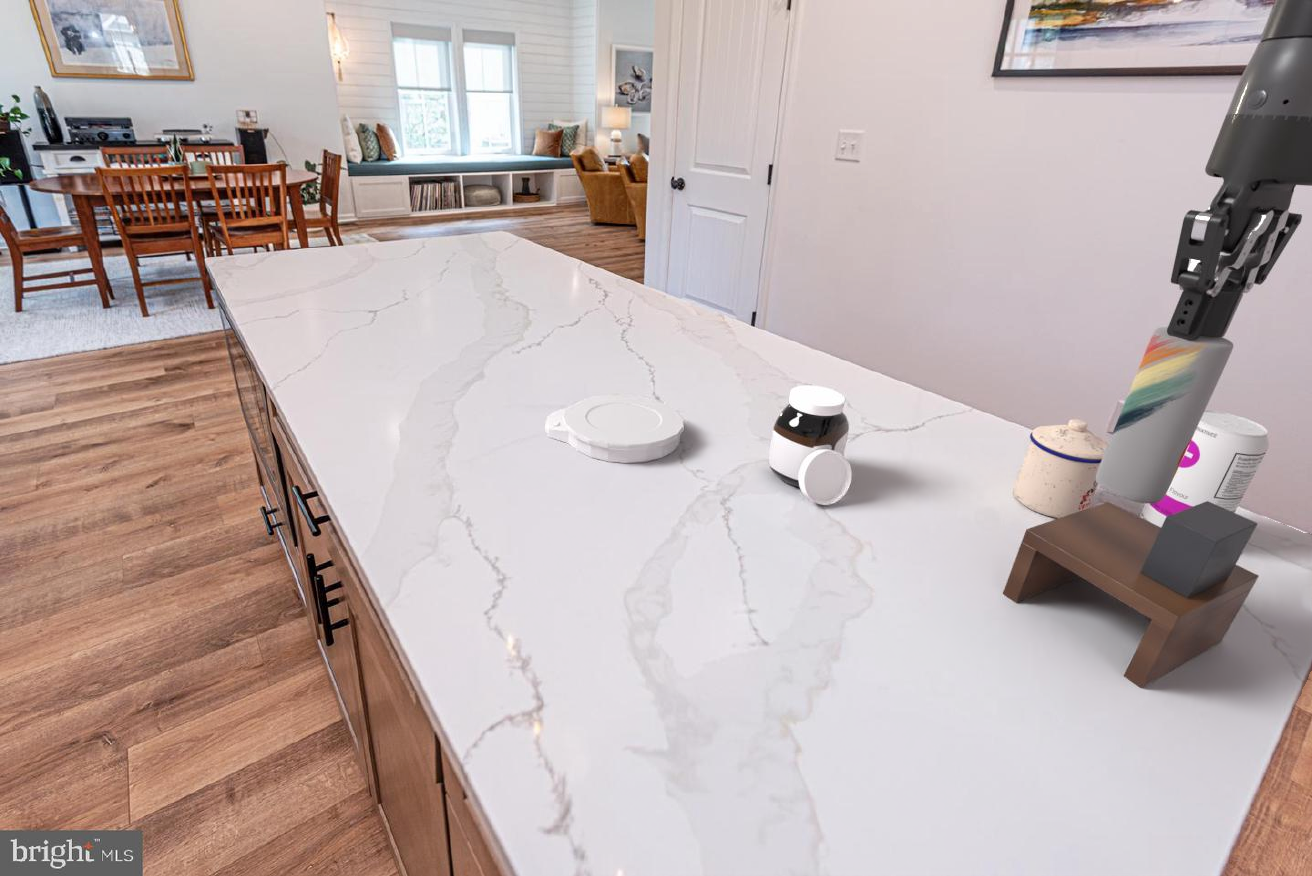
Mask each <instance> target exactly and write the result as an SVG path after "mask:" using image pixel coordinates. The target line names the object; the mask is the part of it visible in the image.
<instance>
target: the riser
mask: <svg viewBox="0 0 1312 876" xmlns="http://www.w3.org/2000/svg"><path fill="white" fill-rule="evenodd" d="M1160 529H1161V527H1159V526H1157V525H1155V524H1153V523H1151V522H1149V521H1147V520H1144V519H1142V518H1141V517H1140V516H1138V515H1136V514H1134V513H1132V512H1130V511H1128V510H1127V509H1124V508H1122V507H1121V506H1118V505H1116V504H1114V503H1112V502H1110V501H1105V502H1102V503H1100V504H1097V505H1094V506H1091V507H1088V509H1085V510H1082V511H1079V512H1076V513H1073V514H1070V515H1067V516H1064V517H1061V518H1055V519H1053V520H1049V521H1046V522H1044V523H1041V524H1038V525H1035V526H1032V527H1029V528H1026V530H1025V531H1024V535H1023V537H1022V540H1021V542H1020V545H1019V546H1020V547H1019V548H1018V551H1017V554H1016V557H1015V559H1014V561H1013V563H1012V564H1013V565H1012V567H1011V570H1010V573H1009V575H1008V579H1007V580H1006V583H1005V587H1004V589H1003V591H1002V595H1004V597H1005V596H1006V597H1007V598H1008V599H1010V600H1011V601H1012V602H1014V603H1019V602H1021V601H1024V600H1026V599H1029V598H1031V597H1034V596H1036V595H1039V594H1041V593H1044V592H1046V591H1049V590H1050V589H1053V588H1055V587H1056V588H1057V587H1058V586H1061V585H1063V584H1066V583H1067V582H1070V581H1072V580H1075V579H1077V578H1082V579H1083V580H1085V581H1087V582H1089V583H1090V584H1091V585H1094V586H1095V587H1096V588H1099V589H1100V590H1101V591H1104V592H1105V593H1107V594H1109V595H1110V596H1112V597H1114V598H1115V599H1117V600H1118V601H1119V602H1122V603H1123V604H1125V605H1126V606H1129V607H1130V608H1132V609H1133V610H1135V611H1137V612H1138V613H1140V614H1142V615H1143V616H1144V617H1145V616H1146V618H1149V619H1150V621H1149V624H1148V626H1147V628H1146V630H1145V632H1144V634H1143V636H1142V638H1141V640H1140V642H1139V644H1138V646H1137V648H1136V650H1135V652H1134V654H1133V656H1132V657H1131V660H1130V662H1129V664H1128V666H1127V668H1126V670H1125V672H1124V674H1123V677H1124V678H1126V679H1127V680H1129V681H1130V682H1131V683H1133V684H1134V685H1136V686H1138V687H1139V688H1141V689H1142V688H1145V687H1146V686H1148V685H1149V684H1151V683H1153V682H1155V681H1156V680H1159V679H1160V678H1161V677H1163V676H1165V675H1167V674H1168V673H1170V672H1172V671H1173V670H1175V669H1177V668H1179V667H1180V666H1182V665H1184V664H1186V663H1188V662H1189V661H1191V660H1193V659H1195V658H1196V657H1198V656H1200V655H1202V654H1204V653H1205V652H1207V651H1209V650H1210V649H1212V648H1214V647H1215V646H1218V645H1219V644H1220V643H1222V642H1223V640H1224V638H1225V637H1226V635H1227V633H1228V631H1229V629H1231V626H1232V624H1233V622H1234V621H1235V619H1236V618H1237V615H1238V613H1239V612H1240V610H1241V609H1242V606H1244V603H1245V601H1246V599H1247V598H1248V596H1249V594H1250V593H1251V591H1252V589H1253V588H1254V586H1255V584H1256V582H1257V580H1258V578H1259V576H1260V575H1258V574H1256V573H1254V572H1252V571H1250V570H1248V569H1246V568H1244V567H1242V566H1240V565H1238V564H1236V565H1235V567H1234V568H1233V570H1232V572H1231V574H1230V576H1229V578H1228V579H1226V580H1224V581H1222V582H1220V583H1218V584H1216V585H1214V586H1212V587H1210V588H1208V589H1206V590H1204V591H1202V592H1200V593H1198V594H1196V595H1194V596H1192V597H1190V598H1186V597H1184V596H1182V595H1180V594H1178V593H1177V592H1175V591H1173V590H1171V589H1169V588H1168V587H1166V586H1164V585H1162V584H1160V583H1158V582H1157V581H1155V580H1153V579H1151V578H1149V577H1148V576H1146V575H1144V574H1142V573H1141V570H1142V568H1143V565H1144V563H1145V561H1146V559H1147V557H1148V555H1149V553H1150V551H1151V548H1152V546H1153V544H1154V542H1155V540H1156V538H1157V536H1158V534H1159V531H1160Z"/></svg>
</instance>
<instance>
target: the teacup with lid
mask: <svg viewBox="0 0 1312 876" xmlns="http://www.w3.org/2000/svg"><path fill="white" fill-rule="evenodd" d="M1087 428H1088V424H1087V422H1086V421H1085V420H1082V419H1078V418H1077V419H1076V418H1072V419H1070V420H1068V422H1067V423H1063V424H1056V425H1055V424H1045V425H1040V426H1038V427H1035V428H1034V429H1033V430H1032V431H1031V432H1030V434H1029V438H1030V441H1029V444H1028V446H1027V449H1026V452H1025V455H1024V459H1023V461H1022V463H1021V466H1020V470H1019V473H1018V474H1017V475H1018V476H1017V479H1016V481H1015V484H1014V487H1013V495H1014V498H1016V500H1017V501H1018V502H1019V503H1020V504H1021V505H1023V506H1024V507H1026V508H1027V509H1029V510H1030V511H1034V512H1036V513H1038V514H1040V515H1043V516H1047V517H1050V518H1055V519H1058V518H1061V517H1064V516H1067V515H1070V514H1073V513H1076V512H1079V511H1082V510H1085V509H1088V508H1090V505H1091V502H1092V500H1093V498H1094V496H1095V492H1096V490H1097V488H1098V486H1099V485H1098V484H1097V482H1096V474H1097V471H1098V468H1099V466H1100V463H1101V461H1102V458H1103V455H1104V453H1105V450H1106V448H1107V446H1108V442H1107V441H1105V440H1104V439H1102V438H1101V437H1098V436H1097V435H1095V434H1094V433H1093V432H1091V430H1089V429H1087Z"/></svg>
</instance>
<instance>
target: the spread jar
mask: <svg viewBox="0 0 1312 876" xmlns="http://www.w3.org/2000/svg"><path fill="white" fill-rule="evenodd" d="M845 403H846V398H845V396H844V395H843V394H842V393H841V392H838V391H837V390H834V389H832V388H829V387H825V386H820V385H810V384H808V385H807V384H806V385H804V384H803V385H798V386H795V387H792V389H791V390H790V393H789V398H788V404H787V405H786V406H785V407H784V408H783V409H782V411H781V412H780V413H779V415H778V416H777V418H776V420H775V422H774V425H773V429H772V432H771V433H772V434H771V438H770V445H769V451H768V466H769V468H770V470H771V472H772V473H773V474H774V475H775V476H777V477H778V478H779V479H780V480H781V481H783V482H784V483H786V484H787V485H790V486H792V487H795V488H799V489H800V491H801V493H802V495H803V496H804V497H805V498H806V499H807V500H809V501H811V502H813V503H815V504H818V505H821V506H829V505H833V504H836V503H838V502H839V501H840V500H842V499H843V498H844V496H845V495H846V494H847V493H848V491H849V489H850V486H851V483H852V479H853V478H852V477H853V476H852V475H853V471H852V465H851V463H850V462H849V460H848V457H846V456H845V450H846V445H847V441H848V436H849V429H850V423H849V419H848V417H847V416H846V414H845V413H844V407H845Z"/></svg>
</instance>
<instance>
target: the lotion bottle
mask: <svg viewBox="0 0 1312 876" xmlns="http://www.w3.org/2000/svg"><path fill="white" fill-rule="evenodd" d="M1244 290H1245V286H1243V285H1239V284H1237V283H1236V282H1234V281H1231V280H1229V279H1226V281H1225V282H1224V284H1223V286H1222V288H1221V290H1220V292H1219V293H1218V294H1217V295H1216V296H1215V297H1216V300H1215V302H1214V305H1213V307H1212V309H1211V312H1210V314H1209V316H1208V319H1207V321H1206V323H1205V326H1204V328H1203V330H1202V332H1201V335H1200V337H1199V338H1198V339H1196V340H1192V341H1187V340H1185V339H1181V338H1178V337H1174V336H1169V335H1168V333H1167V328H1168V326H1160V327H1157V328H1155V329H1154V331H1153V332H1152V335H1151V337H1150V339H1149V342H1148V344H1147V347H1146V349H1145V351H1144V354H1143V356H1142V359H1141V361H1140V364H1139V366H1138V369H1137V372H1136V374H1135V375H1134V378H1133V381H1132V384H1131V386H1130V387H1129V388H1130V389H1129V392H1128V394H1127V396H1126V398H1125V400H1124V404H1123V406H1122V408H1121V410H1120V411H1121V412H1120V414H1119V415H1118V419H1117V421H1116V423H1115V426H1114V428H1113V431H1112V433H1111V436H1110V438H1109V441H1108V442H1107V444H1108V446H1107V448H1106V450H1105V453H1104V455H1103V458H1102V461H1101V463H1100V466H1099V468H1098V471H1097V474H1096V482H1097V484H1098V485H1097V486H1099V487H1100V488H1101V489H1103V490H1104V491H1106V492H1107V493H1110V494H1111V495H1113V496H1116V497H1118V498H1121V499H1124V500H1127V501H1131V502H1134V503H1140V504H1145V503H1157V502H1160V501H1161V500H1162V499H1163V498H1164V496H1165V495H1166V493H1167V491H1168V489H1169V487H1170V485H1171V483H1172V480H1173V478H1174V476H1175V474H1176V472H1177V470H1178V467H1179V465H1180V463H1181V461H1182V459H1183V457H1184V454H1185V452H1186V450H1187V448H1188V446H1189V444H1190V441H1191V439H1192V437H1193V435H1194V433H1195V431H1196V428H1197V426H1198V424H1199V422H1200V420H1201V418H1202V415H1203V413H1204V411H1205V410H1207V409H1206V408H1207V406H1208V405H1209V402H1210V400H1211V398H1212V396H1213V393H1214V392H1215V389H1216V388H1217V385H1218V383H1219V381H1220V379H1221V377H1222V374H1223V373H1224V370H1225V367H1226V366H1227V364H1228V361H1229V358H1230V356H1231V354H1232V352H1233V349H1234V343H1233V342H1232V341H1231V340H1229V339H1227V338H1225V335H1226V333H1227V332H1228V330H1227V329H1229V328H1230V325H1231V323H1232V321H1233V319H1232V318H1234V316H1235V314H1236V312H1237V310H1236V309H1238V307H1239V305H1240V303H1241V301H1240V299H1241V297H1242V298H1243V296H1244V293H1243V292H1244ZM1242 295H1243V296H1242ZM1241 300H1242V299H1241ZM1239 302H1240V303H1239ZM1238 304H1239V305H1238ZM1237 306H1238V307H1237ZM1235 311H1236V312H1235ZM1234 313H1235V314H1234ZM1233 315H1234V316H1233ZM1231 320H1232V321H1231ZM1230 322H1231V323H1230ZM1228 327H1229V328H1228ZM1226 331H1227V332H1226Z"/></svg>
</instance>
